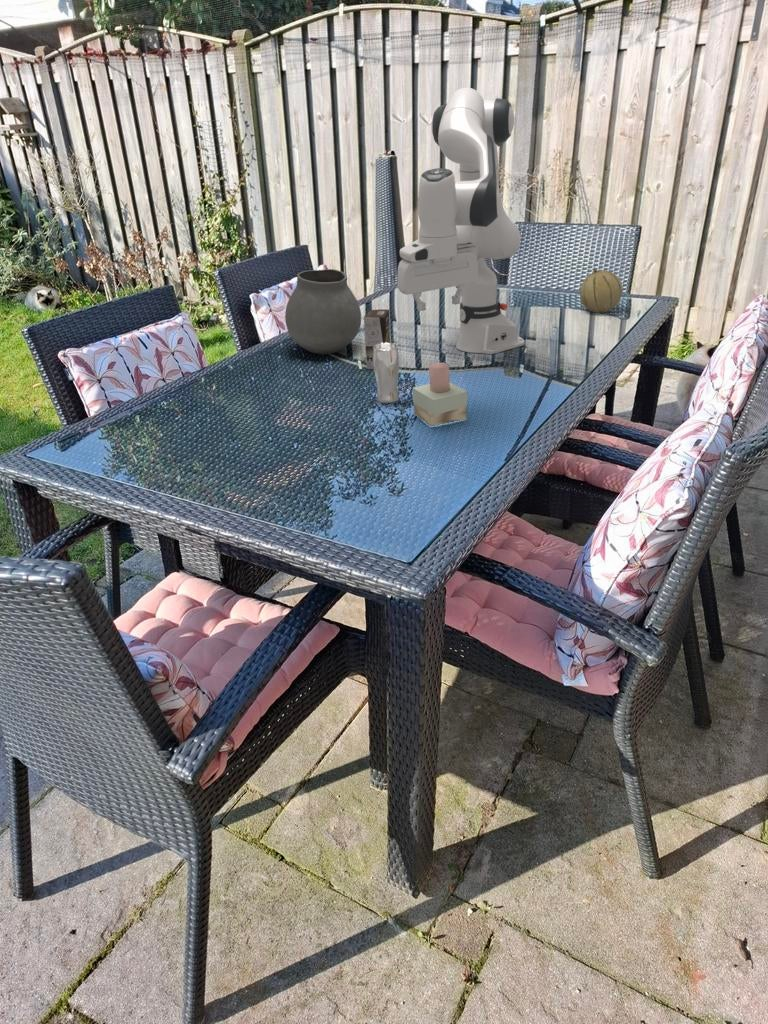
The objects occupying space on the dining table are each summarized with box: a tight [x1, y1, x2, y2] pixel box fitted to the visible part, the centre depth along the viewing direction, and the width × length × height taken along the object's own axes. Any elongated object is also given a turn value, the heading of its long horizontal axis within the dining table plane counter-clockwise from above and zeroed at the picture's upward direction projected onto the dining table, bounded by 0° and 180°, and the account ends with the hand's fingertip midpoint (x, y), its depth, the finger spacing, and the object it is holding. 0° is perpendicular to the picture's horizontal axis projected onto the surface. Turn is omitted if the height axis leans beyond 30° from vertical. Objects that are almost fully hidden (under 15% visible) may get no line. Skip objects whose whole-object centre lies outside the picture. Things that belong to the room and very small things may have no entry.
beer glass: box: [373, 342, 400, 405], centre depth 189 cm, size 7×7×15 cm
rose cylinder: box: [428, 362, 451, 393], centre depth 175 cm, size 5×5×6 cm
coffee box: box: [363, 309, 392, 370], centre depth 214 cm, size 9×6×16 cm
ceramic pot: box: [284, 268, 362, 355], centre depth 226 cm, size 24×24×25 cm
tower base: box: [413, 403, 467, 426], centre depth 179 cm, size 10×10×4 cm
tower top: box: [412, 381, 468, 415], centre depth 177 cm, size 10×10×4 cm
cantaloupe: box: [579, 269, 623, 314], centre depth 253 cm, size 15×15×15 cm
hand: (438, 306), depth 169 cm, fingers open, 8 cm apart
